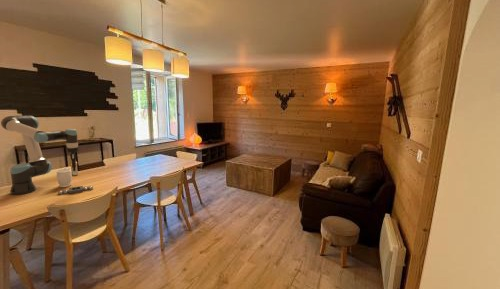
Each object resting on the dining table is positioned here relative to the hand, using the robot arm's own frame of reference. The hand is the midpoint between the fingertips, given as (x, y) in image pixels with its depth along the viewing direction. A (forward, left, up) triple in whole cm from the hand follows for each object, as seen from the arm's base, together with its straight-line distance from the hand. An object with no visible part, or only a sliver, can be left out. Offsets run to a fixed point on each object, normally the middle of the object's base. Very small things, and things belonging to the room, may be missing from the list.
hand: (74, 173), depth 186 cm
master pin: (0, 0, -2) cm, 2 cm away
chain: (0, 0, -16) cm, 16 cm away
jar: (-20, -8, -16) cm, 27 cm away
